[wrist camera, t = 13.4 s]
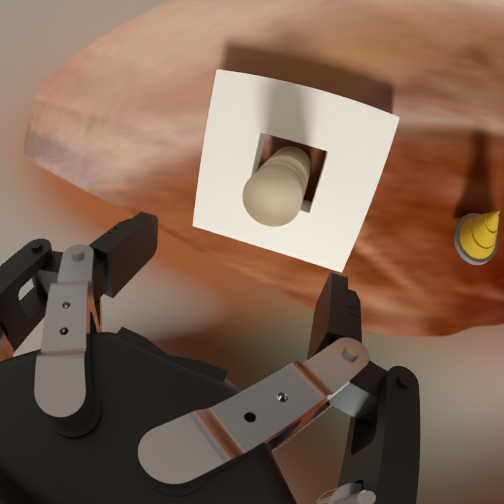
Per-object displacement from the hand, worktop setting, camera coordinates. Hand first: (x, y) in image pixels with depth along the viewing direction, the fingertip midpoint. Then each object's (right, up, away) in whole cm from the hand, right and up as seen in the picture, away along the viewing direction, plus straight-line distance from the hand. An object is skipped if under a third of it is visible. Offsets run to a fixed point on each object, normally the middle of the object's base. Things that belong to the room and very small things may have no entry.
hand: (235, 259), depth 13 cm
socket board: (+4, +9, +15) cm, 18 cm away
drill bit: (+24, +4, +12) cm, 27 cm away
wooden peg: (+5, +9, +15) cm, 18 cm away
